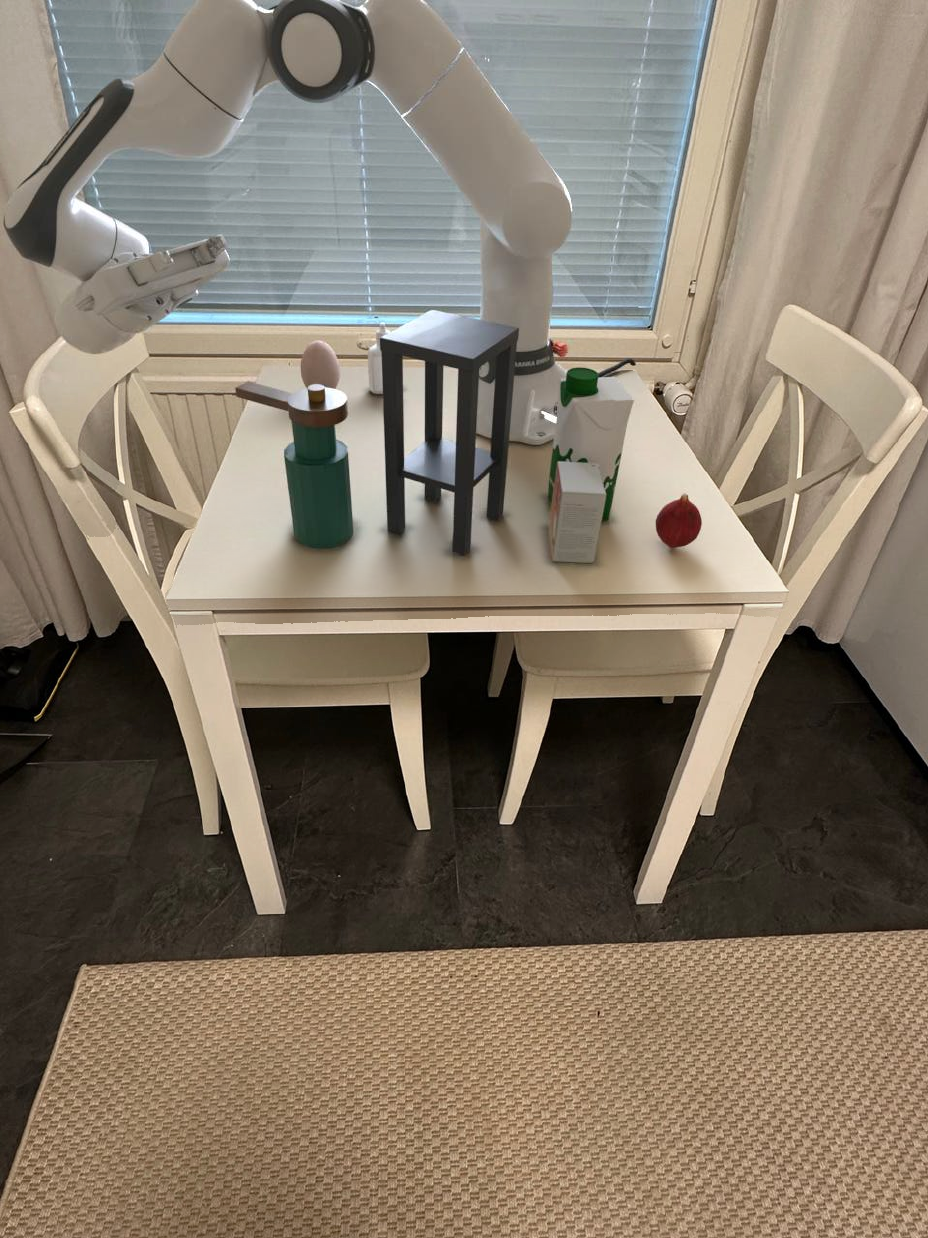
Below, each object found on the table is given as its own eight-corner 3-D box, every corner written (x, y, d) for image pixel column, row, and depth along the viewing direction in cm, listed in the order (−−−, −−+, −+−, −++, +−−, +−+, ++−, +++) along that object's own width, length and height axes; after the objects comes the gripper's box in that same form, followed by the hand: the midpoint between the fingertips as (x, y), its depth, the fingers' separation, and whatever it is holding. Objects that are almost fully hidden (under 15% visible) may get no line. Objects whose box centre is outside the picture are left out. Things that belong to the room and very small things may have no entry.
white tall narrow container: (399, 395, 137) (398, 328, 129) (368, 394, 137) (365, 327, 129) (400, 385, 140) (399, 319, 132) (370, 384, 140) (367, 318, 132)
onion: (702, 556, 100) (717, 504, 95) (663, 562, 99) (677, 509, 94) (680, 532, 105) (694, 481, 99) (643, 538, 103) (654, 486, 98)
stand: (386, 531, 102) (379, 337, 86) (430, 492, 111) (431, 309, 94) (464, 556, 98) (473, 359, 82) (504, 514, 107) (519, 327, 90)
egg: (349, 395, 136) (346, 341, 130) (320, 406, 132) (315, 351, 126) (324, 384, 139) (320, 331, 133) (295, 395, 135) (289, 340, 129)
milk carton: (540, 494, 111) (555, 360, 98) (599, 491, 112) (621, 358, 100) (555, 527, 105) (574, 387, 92) (617, 523, 106) (644, 385, 93)
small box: (547, 528, 104) (556, 459, 97) (588, 530, 104) (599, 461, 97) (551, 562, 98) (560, 491, 91) (594, 564, 98) (607, 493, 91)
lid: (223, 403, 92) (219, 376, 90) (261, 384, 97) (257, 357, 94) (325, 432, 87) (322, 404, 85) (359, 410, 92) (357, 383, 89)
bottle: (338, 511, 106) (328, 394, 95) (363, 538, 101) (356, 418, 90) (285, 525, 102) (269, 406, 92) (308, 554, 97) (294, 432, 87)
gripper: (54, 286, 92) (111, 239, 83) (177, 250, 106) (236, 207, 97) (85, 337, 94) (144, 296, 85) (201, 295, 108) (261, 257, 100)
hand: (194, 248), depth 91 cm, fingers open, 8 cm apart
